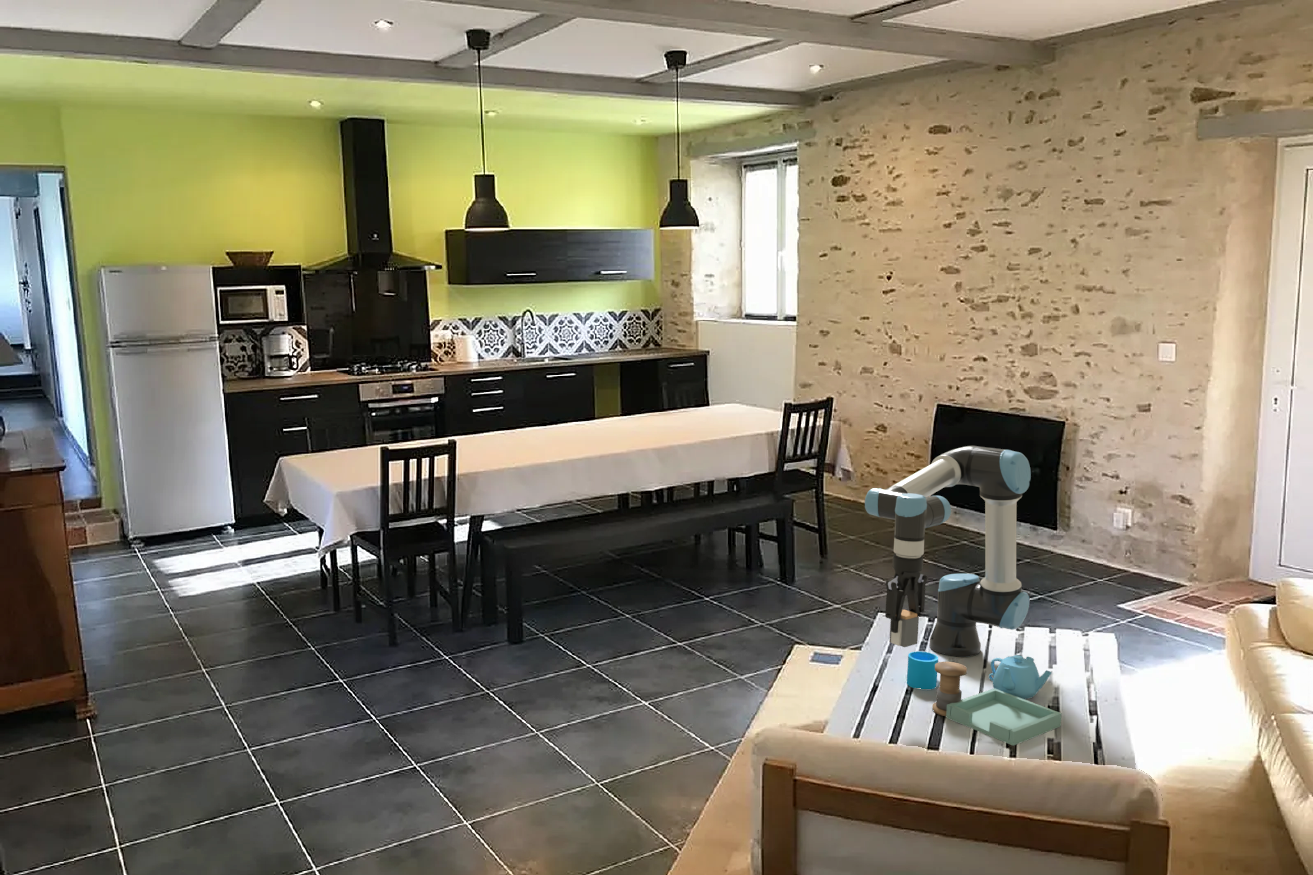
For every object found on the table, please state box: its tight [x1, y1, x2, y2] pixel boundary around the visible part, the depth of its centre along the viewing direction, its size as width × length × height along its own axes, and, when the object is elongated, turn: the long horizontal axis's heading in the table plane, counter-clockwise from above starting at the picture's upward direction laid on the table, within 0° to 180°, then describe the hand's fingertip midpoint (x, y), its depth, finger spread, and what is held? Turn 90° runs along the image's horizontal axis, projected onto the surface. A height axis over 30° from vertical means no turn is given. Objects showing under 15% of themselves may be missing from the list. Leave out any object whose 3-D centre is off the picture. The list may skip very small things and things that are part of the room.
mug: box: [906, 650, 939, 690], centre depth 293 cm, size 12×8×8 cm
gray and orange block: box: [889, 609, 920, 648], centre depth 270 cm, size 5×5×8 cm
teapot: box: [988, 654, 1052, 700], centre depth 285 cm, size 15×14×11 cm
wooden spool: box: [931, 661, 968, 717], centre depth 273 cm, size 8×8×12 cm
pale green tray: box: [945, 687, 1062, 746], centre depth 268 cm, size 20×20×4 cm
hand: (903, 641), depth 271 cm, fingers closed on gray and orange block, 5 cm apart
